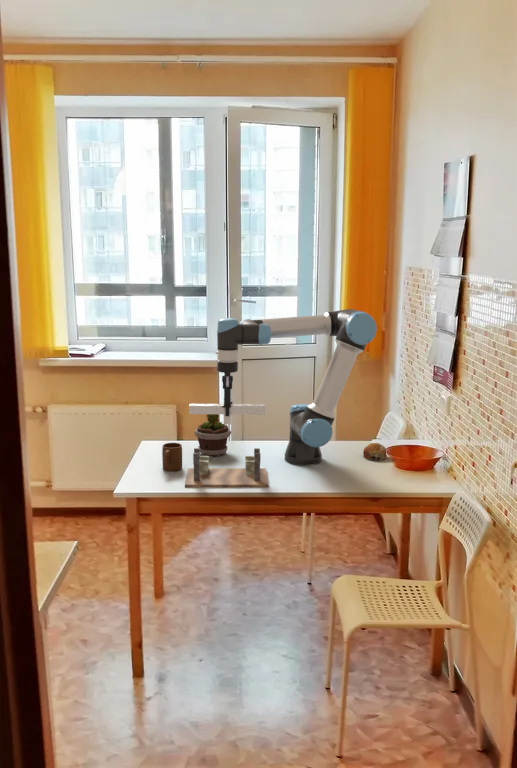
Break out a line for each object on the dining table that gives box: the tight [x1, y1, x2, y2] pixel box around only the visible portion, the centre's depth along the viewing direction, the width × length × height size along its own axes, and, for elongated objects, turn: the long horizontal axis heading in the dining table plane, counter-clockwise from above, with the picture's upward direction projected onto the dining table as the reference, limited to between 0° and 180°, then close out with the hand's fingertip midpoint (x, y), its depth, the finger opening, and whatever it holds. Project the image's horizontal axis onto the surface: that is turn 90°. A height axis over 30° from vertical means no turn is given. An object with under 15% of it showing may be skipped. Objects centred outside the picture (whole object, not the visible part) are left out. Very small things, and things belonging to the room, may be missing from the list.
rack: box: [184, 447, 270, 488], centre depth 245 cm, size 30×18×12 cm, turn 92°
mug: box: [161, 442, 183, 472], centre depth 254 cm, size 12×8×9 cm, turn 170°
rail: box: [188, 403, 266, 415], centre depth 246 cm, size 28×3×3 cm, turn 93°
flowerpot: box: [194, 414, 232, 458], centre depth 274 cm, size 14×15×20 cm
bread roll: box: [362, 442, 388, 462], centre depth 274 cm, size 10×10×8 cm
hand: (227, 422), depth 247 cm, fingers closed on rail, 3 cm apart
